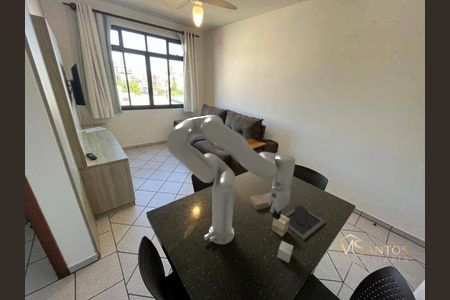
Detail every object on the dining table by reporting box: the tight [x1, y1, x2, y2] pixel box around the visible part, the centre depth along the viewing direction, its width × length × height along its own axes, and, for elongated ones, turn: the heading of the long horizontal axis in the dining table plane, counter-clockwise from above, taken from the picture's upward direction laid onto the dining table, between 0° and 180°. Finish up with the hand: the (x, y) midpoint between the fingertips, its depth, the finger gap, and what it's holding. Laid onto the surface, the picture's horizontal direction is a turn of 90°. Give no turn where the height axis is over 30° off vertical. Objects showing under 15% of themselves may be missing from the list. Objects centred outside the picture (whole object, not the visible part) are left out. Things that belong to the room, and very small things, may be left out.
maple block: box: [271, 213, 290, 237], centre depth 89 cm, size 5×6×8 cm
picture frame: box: [283, 204, 327, 241], centre depth 97 cm, size 16×2×21 cm
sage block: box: [276, 240, 294, 264], centre depth 77 cm, size 5×5×5 cm
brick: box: [249, 192, 271, 211], centre depth 110 cm, size 16×8×5 cm, turn 112°
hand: (276, 217), depth 80 cm, fingers closed
